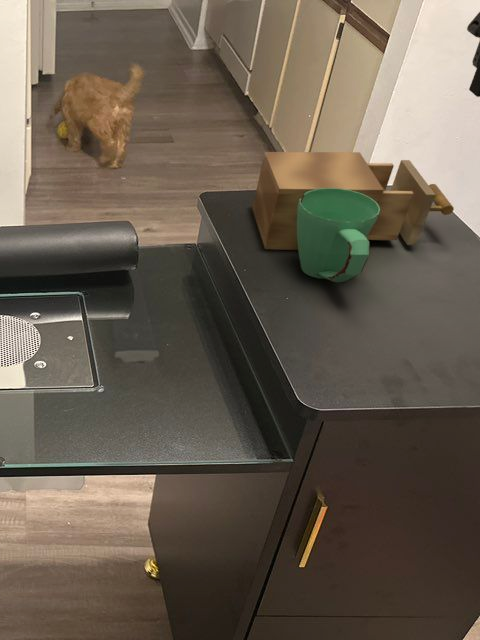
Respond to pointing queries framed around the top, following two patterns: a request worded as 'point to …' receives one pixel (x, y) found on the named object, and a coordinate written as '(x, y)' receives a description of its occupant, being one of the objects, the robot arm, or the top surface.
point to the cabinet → (304, 188)
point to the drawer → (405, 203)
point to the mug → (334, 232)
